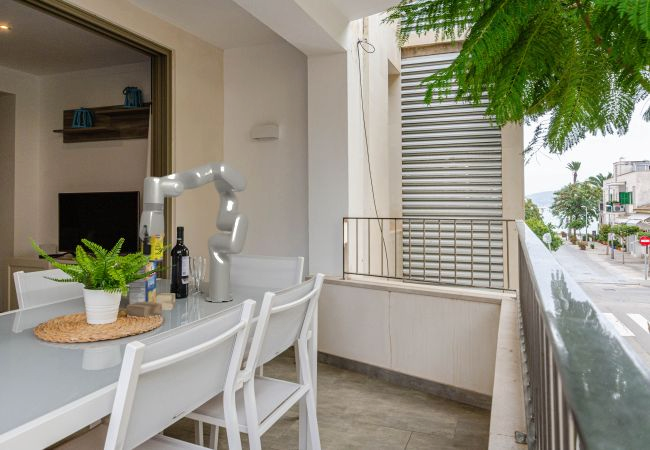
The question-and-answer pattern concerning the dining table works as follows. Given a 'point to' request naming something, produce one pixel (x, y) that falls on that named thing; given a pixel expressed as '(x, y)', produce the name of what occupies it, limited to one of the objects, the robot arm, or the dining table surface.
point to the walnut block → (144, 309)
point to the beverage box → (144, 286)
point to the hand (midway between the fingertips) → (152, 253)
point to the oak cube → (166, 300)
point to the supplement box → (155, 248)
